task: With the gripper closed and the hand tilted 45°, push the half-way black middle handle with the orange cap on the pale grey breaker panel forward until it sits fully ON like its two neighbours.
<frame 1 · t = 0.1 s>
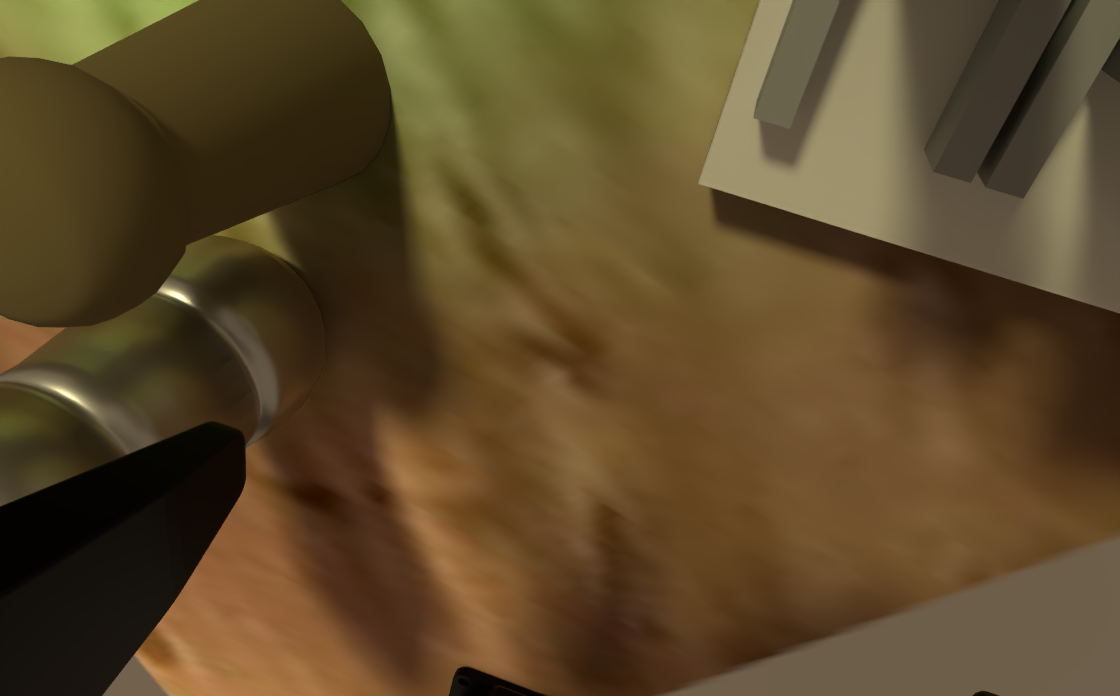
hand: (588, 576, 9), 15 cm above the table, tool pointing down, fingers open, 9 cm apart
plastic bottle: (266, 300, 28), on the table
olive pepper mill: (298, 83, 23), on the table
breaker panel: (1108, 76, 18), on the table
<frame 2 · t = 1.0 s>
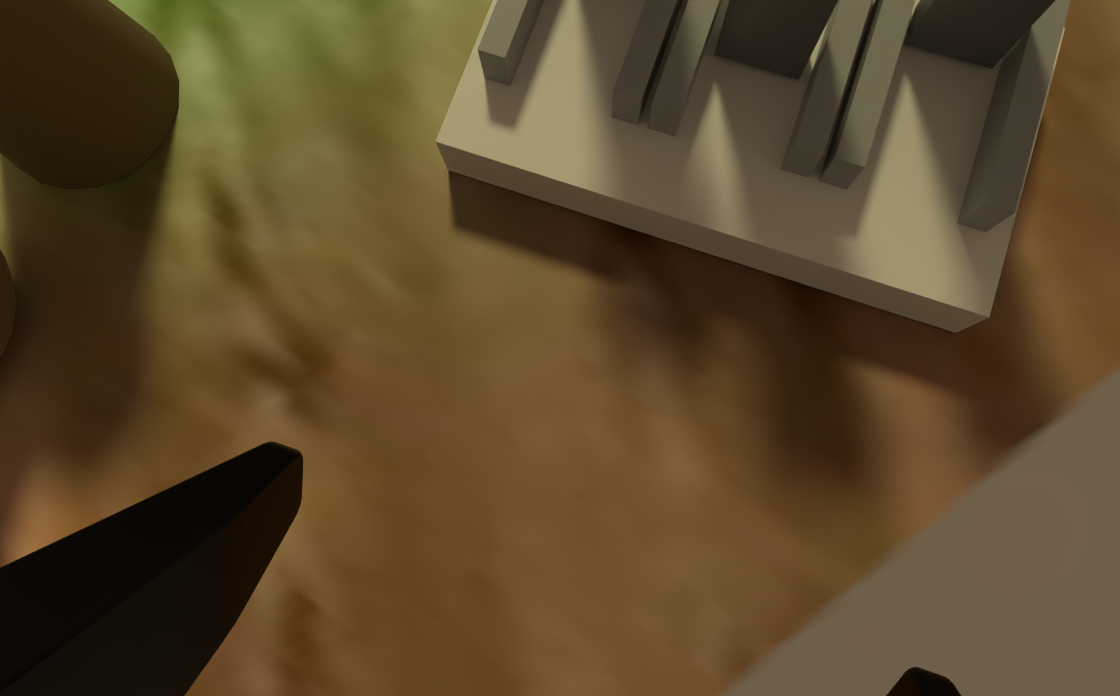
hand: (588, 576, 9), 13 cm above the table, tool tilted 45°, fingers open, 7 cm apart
olive pepper mill: (91, 104, 26), on the table
breaker panel: (737, 118, 25), on the table
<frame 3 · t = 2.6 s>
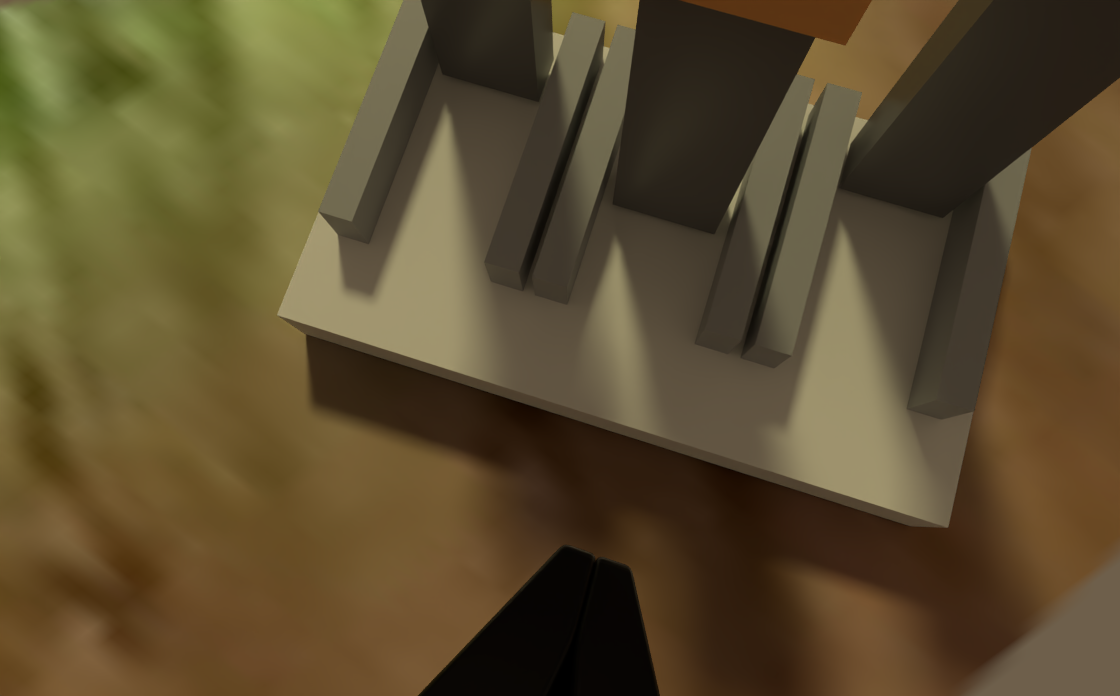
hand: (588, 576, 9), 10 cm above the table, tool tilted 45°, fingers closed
tripped breaker handle: (703, 89, 14), point 7 cm above the table, slide at 2.0 cm
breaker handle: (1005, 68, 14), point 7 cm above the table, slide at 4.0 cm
breaker panel: (649, 264, 21), on the table
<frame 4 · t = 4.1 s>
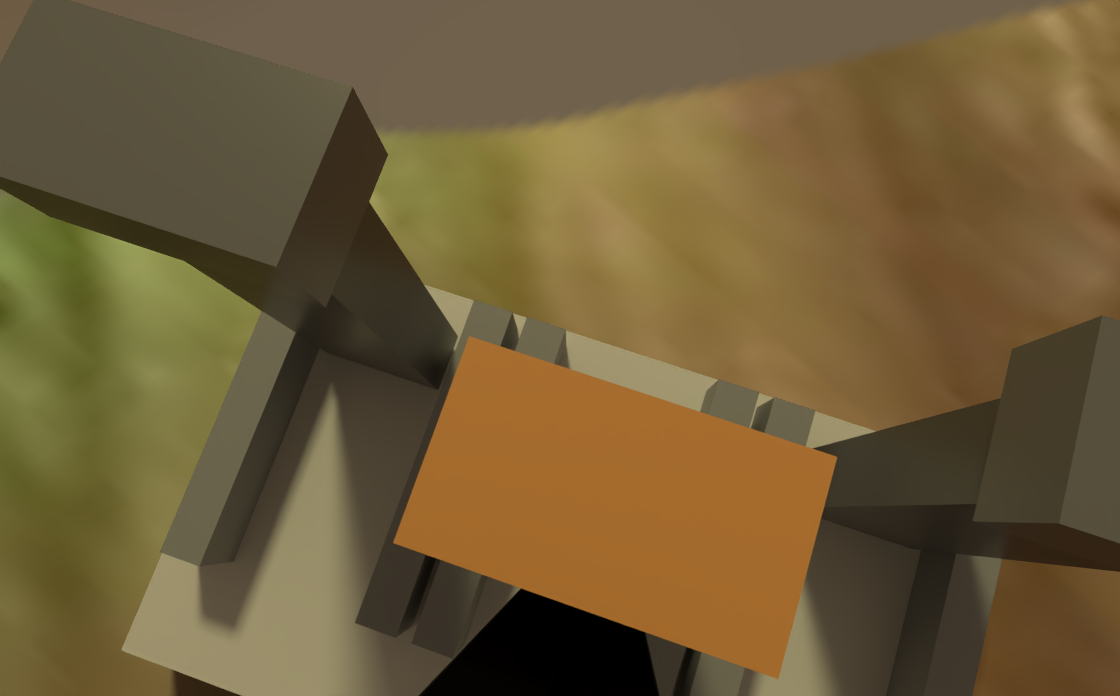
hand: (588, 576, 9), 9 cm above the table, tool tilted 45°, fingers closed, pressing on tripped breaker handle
tripped breaker handle: (598, 504, 11), point 7 cm above the table, slide at 2.2 cm, touching gripper
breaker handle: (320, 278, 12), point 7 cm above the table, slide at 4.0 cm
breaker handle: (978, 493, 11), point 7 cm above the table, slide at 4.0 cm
breaker panel: (573, 556, 18), on the table
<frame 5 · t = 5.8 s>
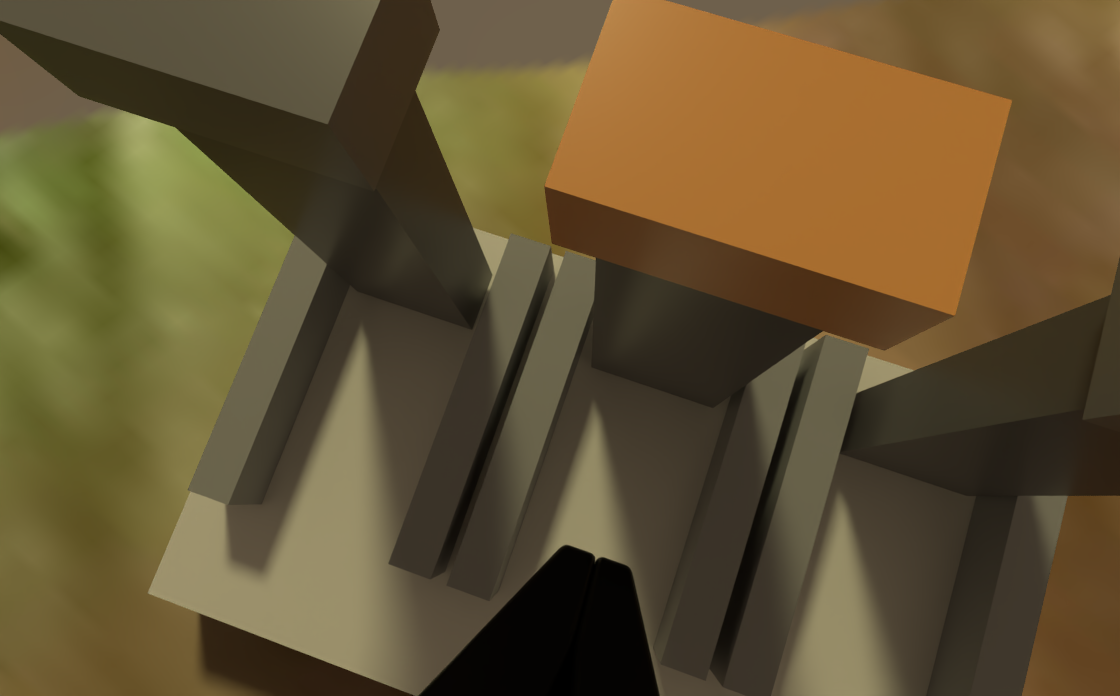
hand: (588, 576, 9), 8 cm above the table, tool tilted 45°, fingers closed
tripped breaker handle: (694, 298, 11), point 7 cm above the table, slide at 4.1 cm
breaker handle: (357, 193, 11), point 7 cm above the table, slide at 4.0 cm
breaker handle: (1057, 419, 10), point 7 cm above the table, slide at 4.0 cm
breaker panel: (608, 506, 17), on the table
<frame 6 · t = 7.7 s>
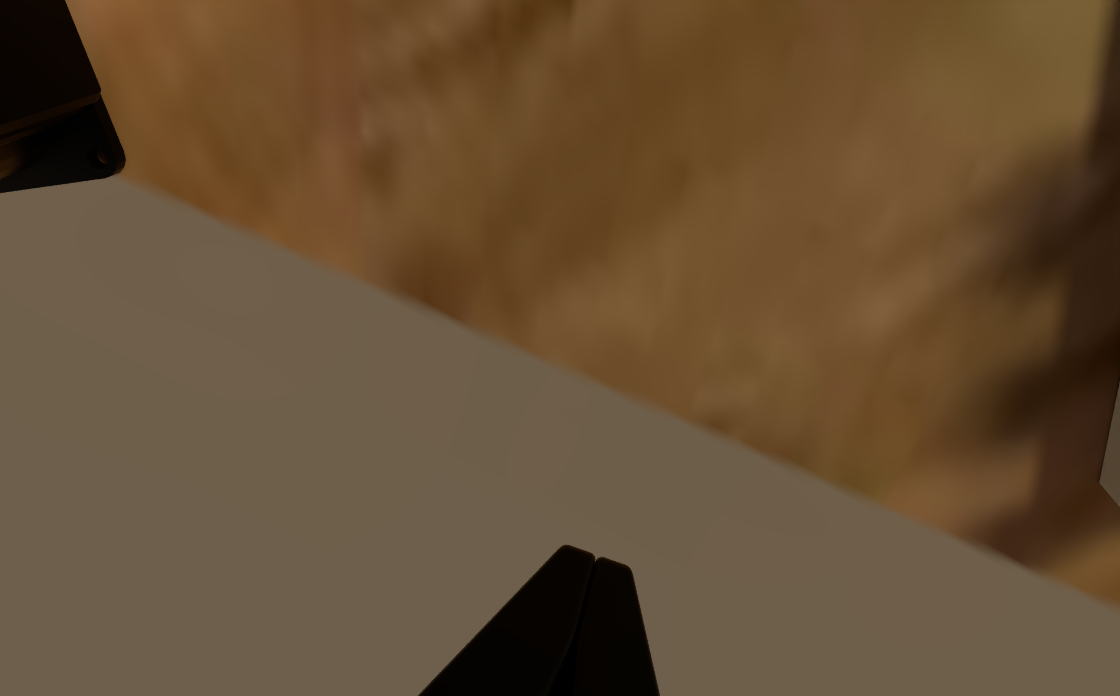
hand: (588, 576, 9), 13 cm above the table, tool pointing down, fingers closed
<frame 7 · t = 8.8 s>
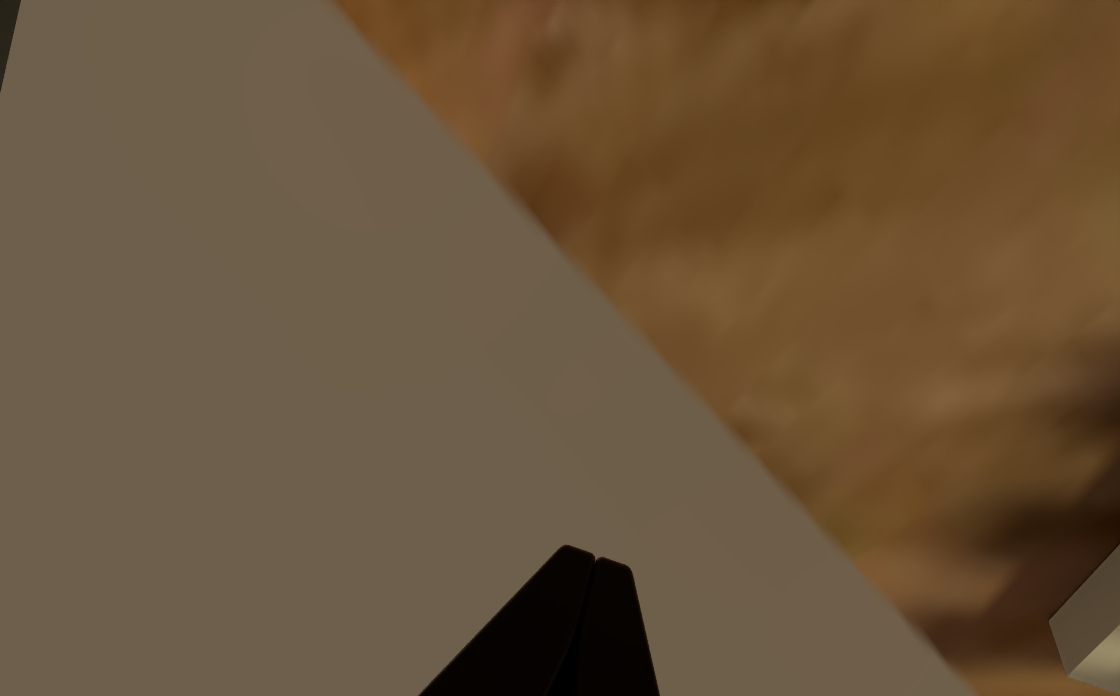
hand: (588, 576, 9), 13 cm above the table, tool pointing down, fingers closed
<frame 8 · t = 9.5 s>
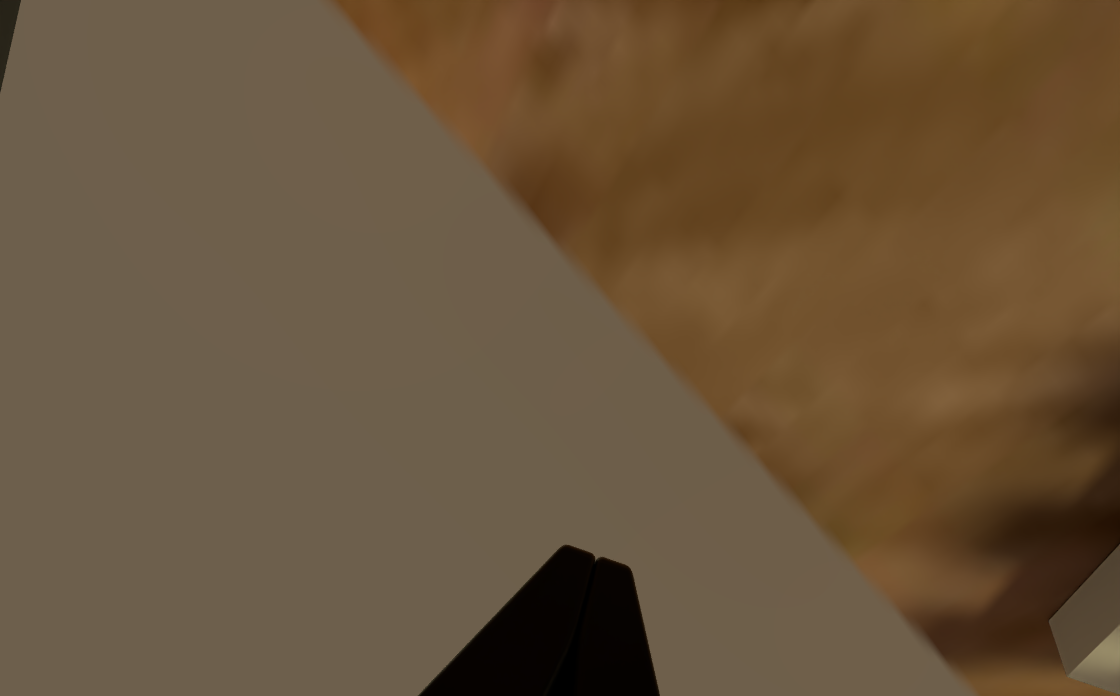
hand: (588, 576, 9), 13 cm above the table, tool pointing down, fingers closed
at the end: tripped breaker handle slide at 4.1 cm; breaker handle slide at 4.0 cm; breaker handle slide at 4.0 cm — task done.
